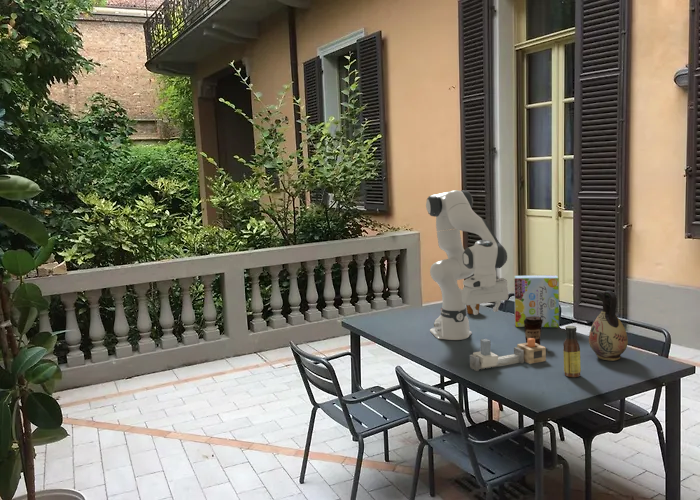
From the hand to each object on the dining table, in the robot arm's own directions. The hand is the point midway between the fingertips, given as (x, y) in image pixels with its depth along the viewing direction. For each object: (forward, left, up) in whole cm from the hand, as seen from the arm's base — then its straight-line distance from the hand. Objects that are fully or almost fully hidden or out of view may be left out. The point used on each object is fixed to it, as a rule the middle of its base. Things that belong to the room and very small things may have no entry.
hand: (485, 313), depth 252 cm
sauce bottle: (+23, +25, -24) cm, 41 cm away
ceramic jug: (+13, +52, -24) cm, 58 cm away
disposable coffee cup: (-80, +41, -24) cm, 93 cm away
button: (0, +22, -19) cm, 29 cm away
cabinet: (0, +22, -23) cm, 32 cm away
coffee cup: (-16, +35, -24) cm, 45 cm away
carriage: (0, 0, -22) cm, 22 cm away
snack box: (-43, +56, -24) cm, 74 cm away
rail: (0, +5, -23) cm, 24 cm away
